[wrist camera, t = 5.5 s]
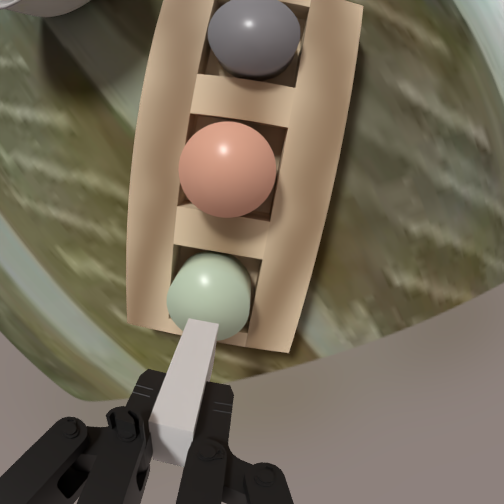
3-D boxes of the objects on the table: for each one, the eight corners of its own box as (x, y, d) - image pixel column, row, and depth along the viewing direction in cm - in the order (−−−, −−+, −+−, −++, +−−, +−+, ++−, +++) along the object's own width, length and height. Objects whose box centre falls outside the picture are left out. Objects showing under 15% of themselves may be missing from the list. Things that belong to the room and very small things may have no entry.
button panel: (140, 303, 24) (127, 323, 21) (180, -3, 16) (169, -21, 13) (286, 329, 24) (288, 352, 22) (350, 21, 16) (363, 6, 13)
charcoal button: (209, 76, 17) (199, 65, 14) (223, 10, 15) (217, -9, 12) (288, 87, 17) (292, 78, 14) (300, 20, 15) (306, 3, 13)
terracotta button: (186, 199, 19) (173, 209, 16) (197, 119, 17) (185, 116, 14) (265, 212, 19) (266, 225, 16) (280, 132, 17) (284, 130, 14)
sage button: (176, 309, 22) (165, 332, 19) (181, 243, 20) (168, 261, 17) (244, 321, 22) (242, 347, 19) (257, 257, 20) (256, 276, 17)
